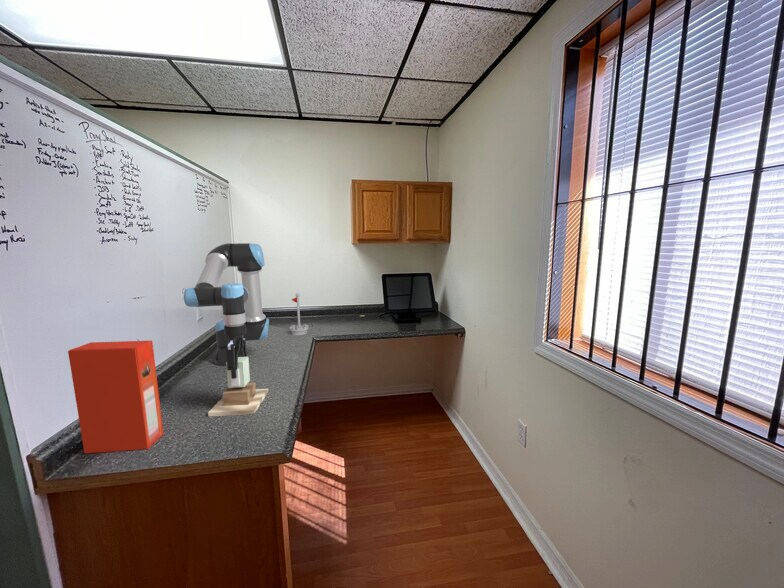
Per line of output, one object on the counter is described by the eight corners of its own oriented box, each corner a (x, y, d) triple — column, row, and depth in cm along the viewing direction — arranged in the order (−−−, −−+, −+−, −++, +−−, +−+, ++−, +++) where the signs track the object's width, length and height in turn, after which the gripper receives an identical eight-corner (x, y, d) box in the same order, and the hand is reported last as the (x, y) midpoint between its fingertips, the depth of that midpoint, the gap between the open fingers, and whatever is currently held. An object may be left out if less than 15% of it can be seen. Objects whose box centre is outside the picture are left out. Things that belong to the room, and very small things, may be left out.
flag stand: (311, 331, 231) (309, 292, 227) (304, 335, 218) (302, 294, 214) (294, 330, 232) (292, 291, 228) (287, 335, 219) (285, 294, 215)
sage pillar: (234, 381, 122) (232, 357, 121) (249, 380, 123) (248, 356, 121) (228, 387, 116) (226, 362, 115) (244, 386, 117) (242, 361, 115)
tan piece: (229, 393, 128) (227, 379, 128) (268, 391, 130) (267, 377, 129) (208, 416, 111) (206, 399, 110) (254, 413, 112) (253, 397, 112)
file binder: (146, 450, 92) (134, 348, 88) (83, 454, 90) (67, 350, 86) (163, 434, 100) (152, 340, 96) (105, 438, 98) (92, 342, 94)
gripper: (234, 319, 125) (238, 372, 128) (212, 330, 106) (218, 393, 109) (253, 318, 126) (257, 372, 129) (235, 330, 107) (239, 392, 110)
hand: (239, 381), depth 119 cm, fingers closed on sage pillar, 6 cm apart
